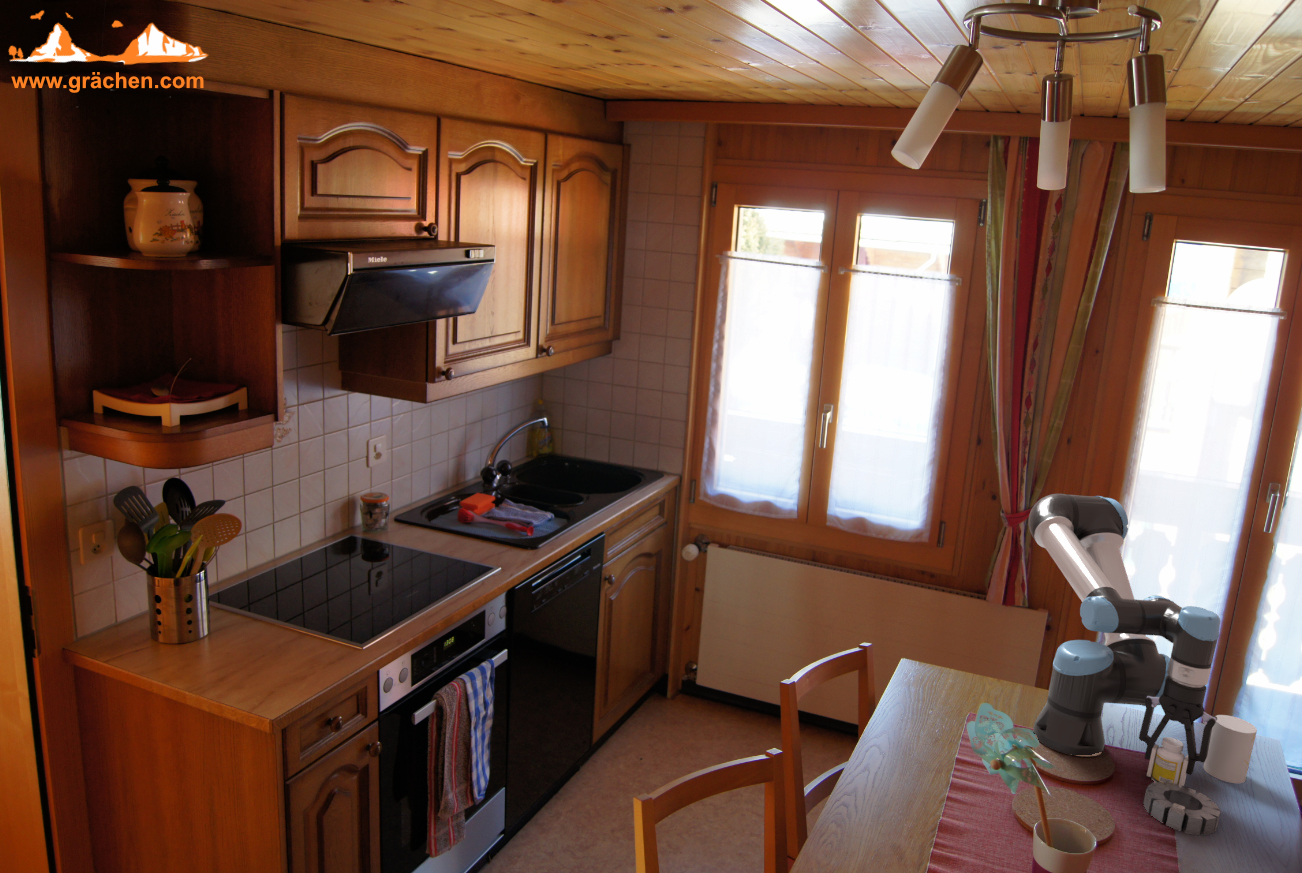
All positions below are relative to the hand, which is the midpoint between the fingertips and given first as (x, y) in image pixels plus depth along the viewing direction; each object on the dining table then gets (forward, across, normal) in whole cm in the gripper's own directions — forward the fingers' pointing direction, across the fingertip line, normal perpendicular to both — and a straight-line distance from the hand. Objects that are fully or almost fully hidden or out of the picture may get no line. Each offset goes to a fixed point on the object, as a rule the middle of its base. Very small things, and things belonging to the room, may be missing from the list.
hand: (1165, 779), depth 202 cm
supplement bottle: (+1, 0, 0) cm, 1 cm away
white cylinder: (+1, +9, +16) cm, 18 cm away
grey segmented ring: (+1, +5, -12) cm, 13 cm away
